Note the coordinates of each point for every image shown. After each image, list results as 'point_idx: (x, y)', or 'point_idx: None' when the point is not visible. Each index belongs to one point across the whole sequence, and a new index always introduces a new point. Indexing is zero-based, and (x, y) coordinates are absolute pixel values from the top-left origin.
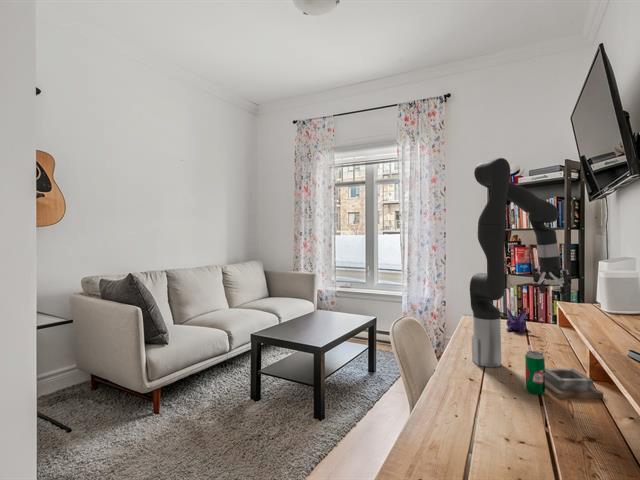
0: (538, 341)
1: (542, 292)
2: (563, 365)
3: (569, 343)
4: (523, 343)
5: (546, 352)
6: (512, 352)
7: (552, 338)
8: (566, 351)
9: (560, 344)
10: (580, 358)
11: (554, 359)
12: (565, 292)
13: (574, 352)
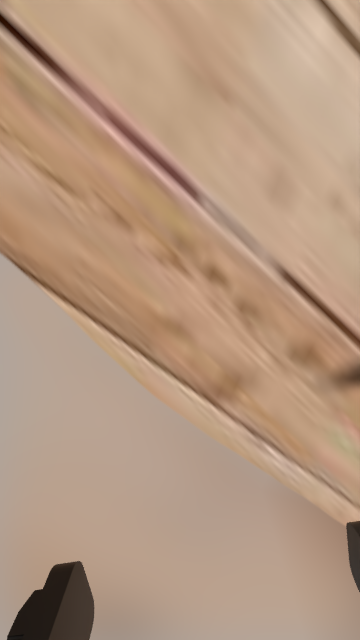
0: (297, 341)
1: (353, 531)
2: (18, 192)
3: (231, 418)
4: (304, 263)
5: (171, 259)
6: (220, 102)
7: (301, 413)
8: (159, 339)
9: (233, 383)
10: (80, 320)
11: (89, 218)
12: (15, 636)
13: (142, 355)
